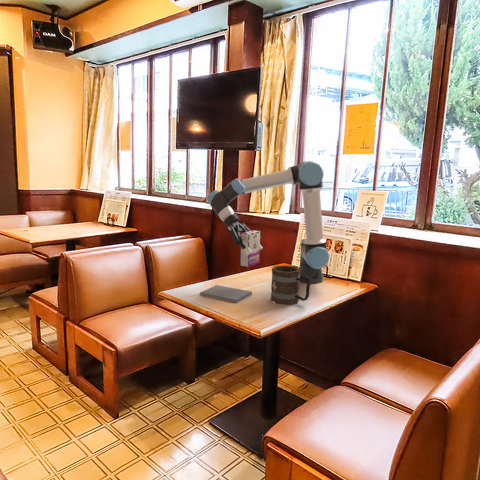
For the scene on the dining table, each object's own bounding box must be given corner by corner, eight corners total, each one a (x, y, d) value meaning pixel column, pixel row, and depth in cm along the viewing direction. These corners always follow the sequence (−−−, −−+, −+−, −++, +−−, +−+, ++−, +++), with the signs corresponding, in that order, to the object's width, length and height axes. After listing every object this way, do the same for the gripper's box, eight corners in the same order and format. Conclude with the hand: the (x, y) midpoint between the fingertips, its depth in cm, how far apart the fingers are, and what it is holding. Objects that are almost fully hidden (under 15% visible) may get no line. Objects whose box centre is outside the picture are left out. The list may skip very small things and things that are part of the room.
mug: (264, 300, 188) (265, 268, 186) (281, 293, 198) (282, 264, 196) (300, 310, 176) (301, 277, 173) (316, 303, 186) (318, 271, 183)
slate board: (251, 294, 196) (251, 291, 196) (236, 302, 183) (236, 299, 183) (216, 287, 205) (216, 285, 205) (199, 295, 192) (199, 292, 192)
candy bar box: (251, 261, 207) (252, 230, 204) (259, 263, 204) (261, 231, 201) (239, 265, 197) (240, 232, 194) (248, 267, 195) (249, 233, 192)
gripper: (235, 220, 215) (260, 252, 210) (211, 224, 194) (238, 260, 190) (245, 210, 211) (270, 243, 207) (221, 214, 191) (249, 250, 186)
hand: (255, 251), depth 198 cm, fingers closed on candy bar box, 11 cm apart
